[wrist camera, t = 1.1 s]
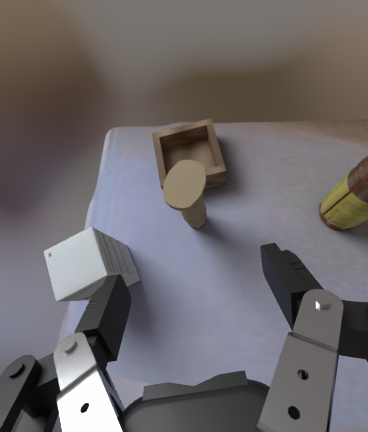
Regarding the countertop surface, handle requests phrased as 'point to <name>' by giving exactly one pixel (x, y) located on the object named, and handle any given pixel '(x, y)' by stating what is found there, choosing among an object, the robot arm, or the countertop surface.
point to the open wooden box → (190, 151)
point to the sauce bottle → (347, 200)
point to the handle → (187, 191)
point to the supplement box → (87, 264)
